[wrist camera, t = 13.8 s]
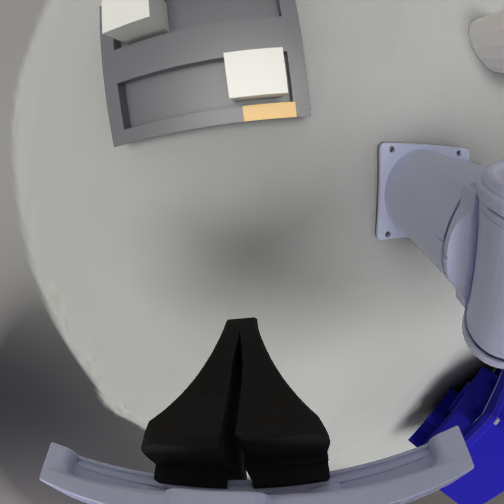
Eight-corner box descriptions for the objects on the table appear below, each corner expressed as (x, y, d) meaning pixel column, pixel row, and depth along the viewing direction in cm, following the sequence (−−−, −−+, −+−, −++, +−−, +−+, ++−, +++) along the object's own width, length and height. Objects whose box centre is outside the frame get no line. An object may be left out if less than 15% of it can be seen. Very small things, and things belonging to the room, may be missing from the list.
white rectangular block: (166, 3, 12) (147, -17, 9) (169, 32, 14) (149, 16, 10) (127, 16, 13) (101, 1, 9) (129, 44, 14) (102, 33, 10)
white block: (276, 60, 15) (282, 47, 11) (281, 97, 16) (288, 92, 12) (230, 65, 15) (223, 53, 11) (234, 101, 16) (229, 98, 13)
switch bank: (284, -20, 12) (288, -35, 10) (304, 115, 18) (311, 116, 15) (113, 14, 13) (98, 6, 11) (128, 142, 19) (113, 147, 16)
